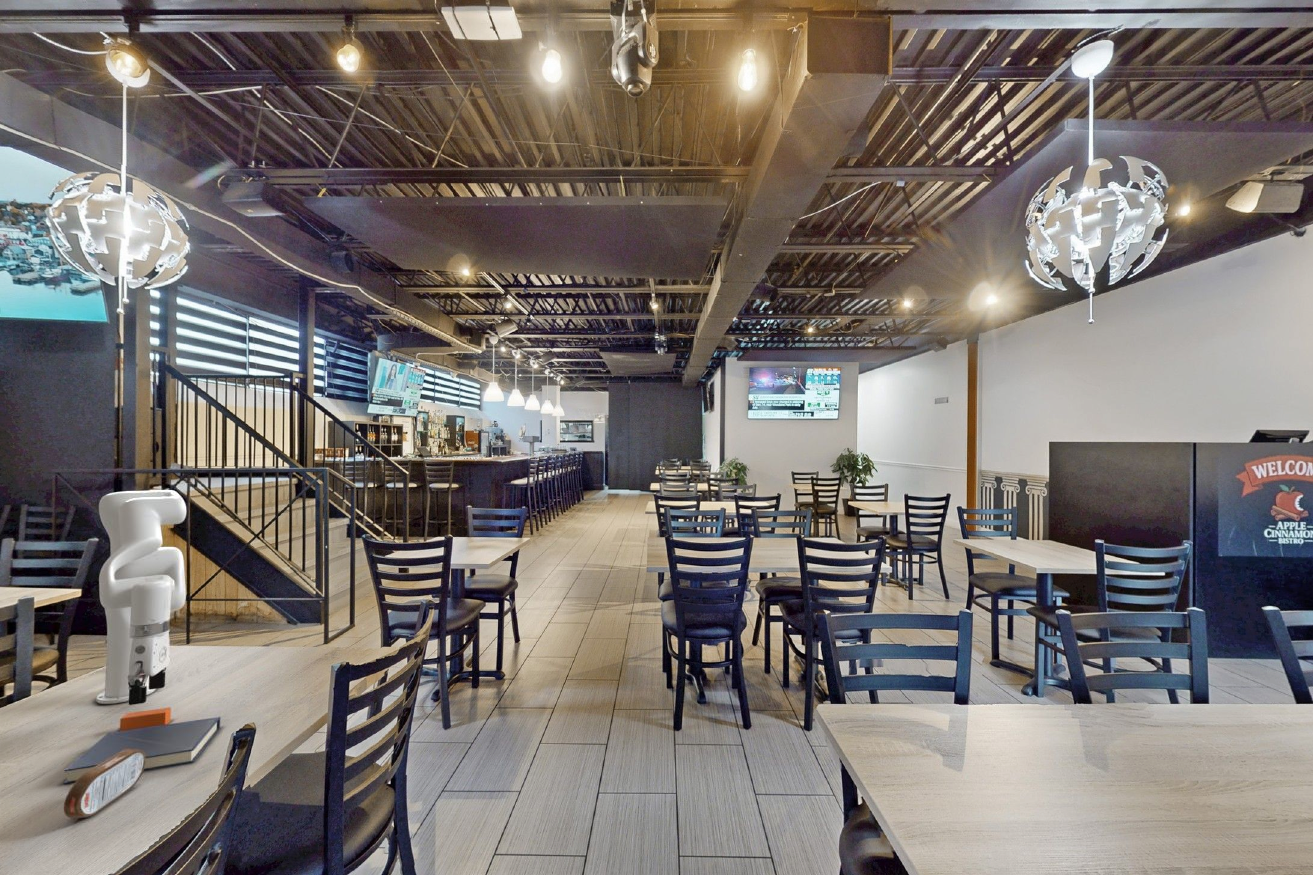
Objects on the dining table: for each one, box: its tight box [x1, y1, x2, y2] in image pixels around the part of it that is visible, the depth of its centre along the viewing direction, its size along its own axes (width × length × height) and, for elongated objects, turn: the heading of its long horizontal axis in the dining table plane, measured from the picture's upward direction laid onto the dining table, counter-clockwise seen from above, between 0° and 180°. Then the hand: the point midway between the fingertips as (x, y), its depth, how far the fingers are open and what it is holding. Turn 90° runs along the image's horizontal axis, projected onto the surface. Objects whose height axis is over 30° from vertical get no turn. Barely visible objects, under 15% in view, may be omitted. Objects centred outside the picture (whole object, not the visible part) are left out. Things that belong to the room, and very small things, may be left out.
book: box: [63, 716, 221, 785], centre depth 124 cm, size 16×22×3 cm
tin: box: [63, 749, 146, 819], centre depth 107 cm, size 15×3×8 cm, turn 5°
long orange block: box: [119, 707, 172, 731], centre depth 136 cm, size 3×9×4 cm, turn 113°
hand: (147, 695), depth 136 cm, fingers open, 9 cm apart
